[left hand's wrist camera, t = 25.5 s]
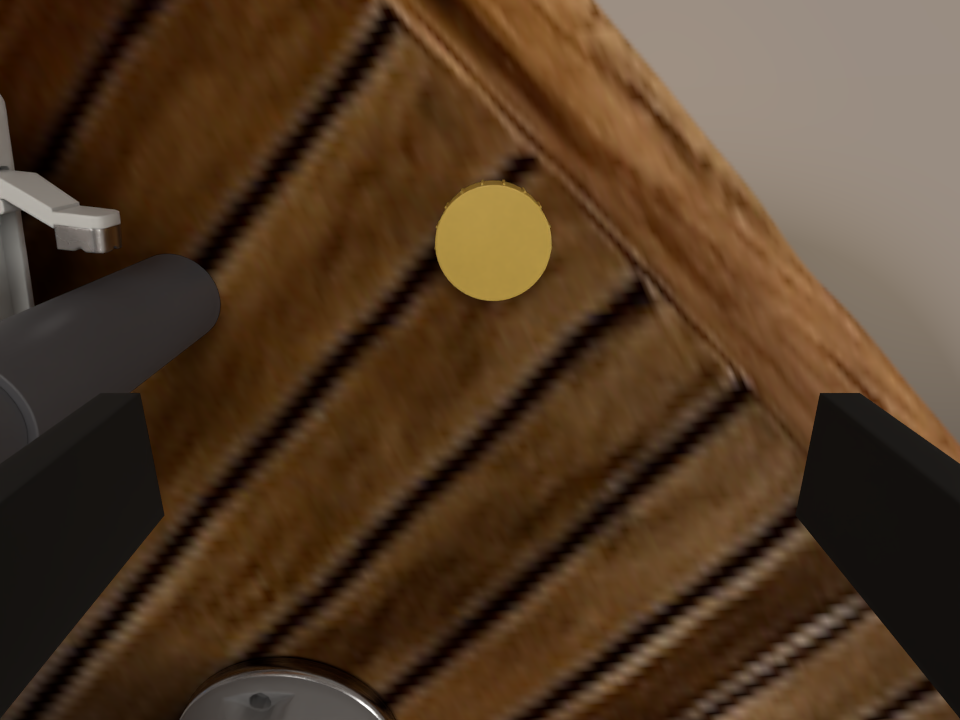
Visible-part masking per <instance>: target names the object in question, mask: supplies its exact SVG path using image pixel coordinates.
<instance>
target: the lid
mask: <svg viewBox="0 0 960 720" xmlns="http://www.w3.org/2000/svg"><path fill="white" fill-rule="evenodd" d="M541 208H542V207H541V205H540V203H539V202H536V201H535V200H534V198H533V197H532V196H531V195H530V194H528V193H527V192H526V191H525V189H524V188H523V187H522V188H520V187H518V186H516V185H514V184H511V183H508V182H505V180H502V181H494V180H491V181H483V180H481V182H479V183H475V184H473V185H470V186H468V187H467V188H465V189H464V188H462V189H461V191H460V192H459V193H458V194H457V195H456V196H455V197H454V198H453V199H452V200H451V201H450V202H447V204H446V206H445V210H444V212H443V215H442V217H441V219H440V221H438V223H437V225H436V228H437V231H436V237H435V250H436V255H437V259H438V262H439V265H440V268H441V270H442V271H443V273H444V275H445V276H446V277H447V279H448V280H449V281H450V282H451V283H452V284H453V285H454V286H455V287H456V288H457V289H458V290H460V291H461V292H463V293H465V294H466V295H469V296H471V297H473V298H477V299H480V300H486V301H500V300H506V299H510V298H513V297H515V296H518V295H520V294H522V293H523V292H525V291H526V290H528V289H529V288H530V287H531V286H533V285H534V284H535V283H536V281H537V280H538V279H539V278H540V276H541V275H542V274H543V272H544V270H545V268H546V266H547V263H548V261H549V257H550V253H551V249H552V246H551V233H550V228H551V226H550V224H549V222H548V220H547V219H546V217H545V215H544V213H543V211H542V210H541Z"/></svg>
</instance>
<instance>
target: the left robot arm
mask: <svg viewBox="0 0 960 720" xmlns="http://www.w3.org/2000/svg"><path fill="white" fill-rule="evenodd" d="M163 516H164V511H163V506H162V501H161V496H160V491H159V486H158V481H157V476H156V471H155V466H154V461H153V456H152V451H151V446H150V441H149V436H148V431H147V426H146V421H145V416H144V411H143V406H142V401H141V396H140V393H100V394H98V395H97V396H95V397H94V398H93V399H91V400H90V401H88V402H87V403H86V404H84V405H83V406H81V407H80V408H79V409H77V410H76V411H74V412H73V413H71V414H70V415H69V416H67V417H66V418H64V419H63V420H62V421H60V422H59V423H57V424H56V425H54V426H53V427H52V428H50V429H49V430H47V431H46V432H45V433H43V434H42V435H40V436H39V437H37V438H36V439H35V440H33V441H32V442H30V443H29V444H28V445H26V446H25V447H23V448H22V449H21V450H19V451H18V452H16V453H15V454H13V455H12V456H11V457H9V458H8V459H6V460H5V461H4V462H2V463H1V464H0V718H1V717H2V715H3V714H4V713H5V712H6V710H7V709H8V708H9V707H10V706H11V704H12V703H13V702H14V701H15V699H16V698H17V697H18V696H19V694H20V693H21V692H22V691H23V689H24V688H25V687H26V686H27V684H28V683H29V682H30V681H31V680H32V678H33V677H34V676H35V675H36V673H37V672H38V671H39V670H40V668H41V667H42V666H43V665H44V663H45V662H46V661H47V660H48V659H49V657H50V656H51V655H52V654H53V652H54V651H55V650H56V649H57V647H58V646H59V645H60V644H61V642H62V641H63V640H64V639H65V637H66V636H67V635H68V634H69V633H70V631H71V630H72V629H73V628H74V626H75V625H76V624H77V623H78V621H79V620H80V619H81V618H82V616H83V615H84V614H85V613H86V611H87V610H88V609H89V608H90V607H91V605H92V604H93V603H94V602H95V600H96V599H97V598H98V597H99V595H100V594H101V593H102V592H103V590H104V589H105V588H106V587H107V586H108V584H109V583H110V582H111V581H112V579H113V578H114V577H115V576H116V574H117V573H118V572H119V571H120V569H121V568H122V567H123V566H124V564H125V563H126V562H127V561H128V560H129V558H130V557H131V556H132V555H133V553H134V552H135V551H136V550H137V548H138V547H139V546H140V545H141V543H142V542H143V541H144V540H145V539H146V537H147V536H148V535H149V534H150V532H151V531H152V530H153V529H154V527H155V526H156V525H157V524H158V522H159V521H160V520H161V519H162V517H163ZM796 516H797V517H798V519H799V520H800V521H801V522H802V524H803V525H804V526H805V527H806V529H807V530H808V531H809V532H810V534H811V535H812V536H813V537H814V539H815V540H816V541H817V542H818V543H819V545H820V546H821V547H822V548H823V550H824V551H825V552H826V553H827V555H828V556H829V557H830V558H831V560H832V561H833V562H834V563H835V564H836V566H837V567H838V568H839V569H840V571H841V572H842V573H843V574H844V576H845V577H846V578H847V579H848V581H849V582H850V583H851V584H852V586H853V587H854V588H855V589H856V590H857V592H858V593H859V594H860V595H861V597H862V598H863V599H864V600H865V602H866V603H867V604H868V605H869V607H870V608H871V609H872V610H873V611H874V613H875V614H876V615H877V616H878V618H879V619H880V620H881V621H882V623H883V624H884V625H885V626H886V628H887V629H888V630H889V631H890V633H891V634H892V635H893V636H894V637H895V639H896V640H897V641H898V642H899V644H900V645H901V646H902V647H903V649H904V650H905V651H906V652H907V654H908V655H909V656H910V657H911V659H912V660H913V661H914V662H915V663H916V665H917V666H918V667H919V668H920V670H921V671H922V672H923V673H924V675H925V676H926V677H927V678H928V680H929V681H930V682H931V683H932V684H933V686H934V687H935V688H936V689H937V691H938V692H939V693H940V694H941V696H942V697H943V698H944V699H945V701H946V702H947V703H948V704H949V706H950V707H951V708H952V709H953V710H954V712H955V713H956V714H957V715H958V717H959V718H960V464H959V463H958V462H956V461H955V460H954V459H952V458H951V457H949V456H948V455H947V454H945V453H944V452H942V451H941V450H939V449H938V448H937V447H935V446H934V445H932V444H931V443H930V442H928V441H927V440H925V439H924V438H923V437H921V436H920V435H918V434H917V433H915V432H914V431H913V430H911V429H910V428H908V427H907V426H906V425H904V424H903V423H901V422H900V421H898V420H897V419H896V418H894V417H893V416H891V415H890V414H889V413H887V412H886V411H884V410H883V409H881V408H880V407H879V406H877V405H876V404H874V403H873V402H872V401H870V400H869V399H867V398H866V397H865V396H863V395H862V394H860V393H820V396H819V401H818V406H817V411H816V416H815V421H814V426H813V431H812V436H811V441H810V446H809V451H808V456H807V461H806V466H805V471H804V476H803V481H802V486H801V491H800V496H799V501H798V506H797V511H796ZM180 720H395V718H394V716H393V714H392V712H391V711H390V709H389V708H388V707H387V705H386V704H385V703H384V702H383V700H382V699H381V698H380V697H379V696H378V695H377V694H376V693H375V692H374V691H373V690H371V689H370V688H369V687H368V686H366V685H365V684H364V683H362V682H361V681H359V680H358V679H356V678H354V677H352V676H351V675H349V674H347V673H345V672H343V671H340V670H338V669H336V668H333V667H330V666H327V665H324V664H321V663H317V662H313V661H308V660H303V659H295V658H263V659H256V660H250V661H246V662H242V663H239V664H236V665H233V666H230V667H228V668H226V669H224V670H222V671H219V672H218V673H216V674H215V675H213V676H211V677H210V678H209V679H207V680H206V681H205V682H204V683H203V684H202V685H201V686H200V687H199V688H198V689H197V690H196V691H195V693H194V694H193V695H192V697H191V699H190V700H189V702H188V704H187V706H186V708H185V710H184V712H183V714H182V716H181V718H180Z"/></svg>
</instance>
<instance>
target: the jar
mask: <svg viewBox="0 0 960 720" xmlns="http://www.w3.org/2000/svg"><path fill="white" fill-rule="evenodd" d="M219 312H220V297H219V293H218V290H217V287H216V285H215V283H214V281H213V280H212V278H211V277H210V275H209V274H208V273H207V272H206V271H205V270H204V269H203V268H202V267H201V266H200V265H198V264H197V263H195V262H194V261H192V260H190V259H188V258H185V257H183V256H179V255H174V254H161V255H156V256H153V257H150V258H148V259H145V260H143V261H141V262H138V263H136V264H134V265H131V266H129V267H126V268H124V269H122V270H119V271H117V272H115V273H112V274H110V275H107V276H105V277H103V278H100V279H98V280H96V281H93V282H91V283H88V284H86V285H84V286H81V287H79V288H77V289H74V290H72V291H70V292H67V293H65V294H62V295H60V296H58V297H55V298H53V299H51V300H48V301H46V302H43V303H41V304H39V305H36V306H34V307H32V308H29V309H27V310H24V311H22V312H20V313H17V314H15V315H13V316H10V317H8V318H6V319H3V320H1V321H0V464H1V463H2V462H4V461H5V460H6V459H8V458H9V457H11V456H12V455H13V454H15V453H16V452H18V451H19V450H21V449H22V448H23V447H25V446H26V445H28V444H29V443H30V442H32V441H33V440H35V439H36V438H37V437H39V436H40V435H42V434H43V433H45V432H46V431H47V430H49V429H50V428H52V427H53V426H54V425H56V424H57V423H59V422H60V421H62V420H63V419H64V418H66V417H67V416H69V415H70V414H71V413H73V412H74V411H76V410H77V409H79V408H80V407H81V406H83V405H84V404H86V403H87V402H88V401H90V400H91V399H93V398H94V397H95V396H97V395H98V394H100V393H130V392H131V391H132V390H134V389H135V388H136V387H138V386H139V385H140V384H141V383H143V382H144V381H145V380H147V379H148V378H149V377H150V376H152V375H153V374H154V373H156V372H157V371H158V370H159V369H161V368H162V367H163V366H165V365H166V364H167V363H169V362H170V361H171V360H172V359H174V358H175V357H176V356H178V355H179V354H180V353H181V352H183V351H184V350H185V349H187V348H188V347H189V346H190V345H192V344H193V343H194V342H196V341H197V340H198V339H200V338H201V337H202V336H203V335H205V334H206V333H207V332H208V331H209V330H211V328H212V327H213V326H214V324H215V323H216V321H217V319H218V316H219Z"/></svg>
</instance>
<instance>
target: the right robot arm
mask: <svg viewBox="0 0 960 720" xmlns="http://www.w3.org/2000/svg"><path fill="white" fill-rule="evenodd" d="M21 210H23V211H25V212H26V213H28V214H30V215H31V216H33V217H35V218H37V219H38V220H40V221H42V222H43V223H45V224H47V225H48V226H50V227H52V228H54V229H55V236H56V242H57V248H58V249H62V250H71V251H76V250H79V249H82V250H84V251H85V252H89V253H106V252H110V251H112V250H113V248H117V249H118V248H121V247H122V238H121V223H120V213H119V211H117V210H114V209H105V208H96V207H88V206H80V205H79V202H78V201H76V200H75V199H73V198H72V197H71V196H69V195H68V194H66V193H65V192H63V191H62V190H60V189H59V188H57V187H56V186H55V185H53V184H52V183H50V182H49V181H47V180H46V179H44V178H43V177H41V176H40V175H39V174H37V173H32V172H23V171H15V168H14V161H13V154H12V147H11V141H10V134H9V127H8V119H7V111H6V106H5V102H4V99H3V98H2V96H1V95H0V321H1V320H3V319H6V318H8V317H10V316H13V315H15V314H17V313H20V312H22V311H24V310H27V309H29V308H32V307H34V306H35V305H34V298H33V292H32V285H31V278H30V271H29V264H28V257H27V251H26V244H25V237H24V230H23V223H22V216H21Z"/></svg>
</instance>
